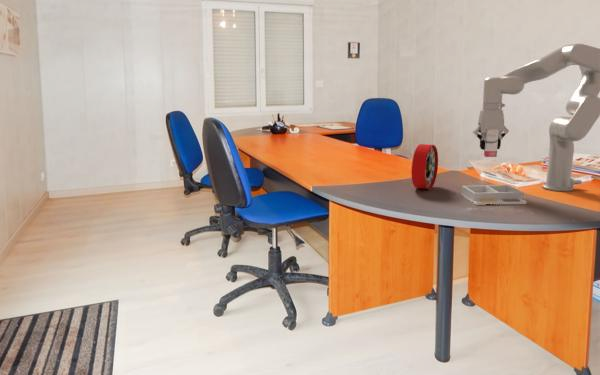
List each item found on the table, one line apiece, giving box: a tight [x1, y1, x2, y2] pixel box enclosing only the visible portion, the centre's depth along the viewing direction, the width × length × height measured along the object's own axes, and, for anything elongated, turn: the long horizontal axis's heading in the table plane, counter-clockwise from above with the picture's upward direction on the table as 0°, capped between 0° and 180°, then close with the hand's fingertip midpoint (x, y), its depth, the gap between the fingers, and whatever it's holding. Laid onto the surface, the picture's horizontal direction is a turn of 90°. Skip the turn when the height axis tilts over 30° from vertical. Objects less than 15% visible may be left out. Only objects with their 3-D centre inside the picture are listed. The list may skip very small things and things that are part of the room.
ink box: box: [482, 129, 499, 158], centre depth 215 cm, size 9×5×12 cm, turn 169°
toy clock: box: [410, 143, 439, 190], centre depth 222 cm, size 20×6×20 cm, turn 149°
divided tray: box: [461, 184, 527, 206], centre depth 203 cm, size 20×17×4 cm
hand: (490, 148), depth 215 cm, fingers closed on ink box, 5 cm apart
